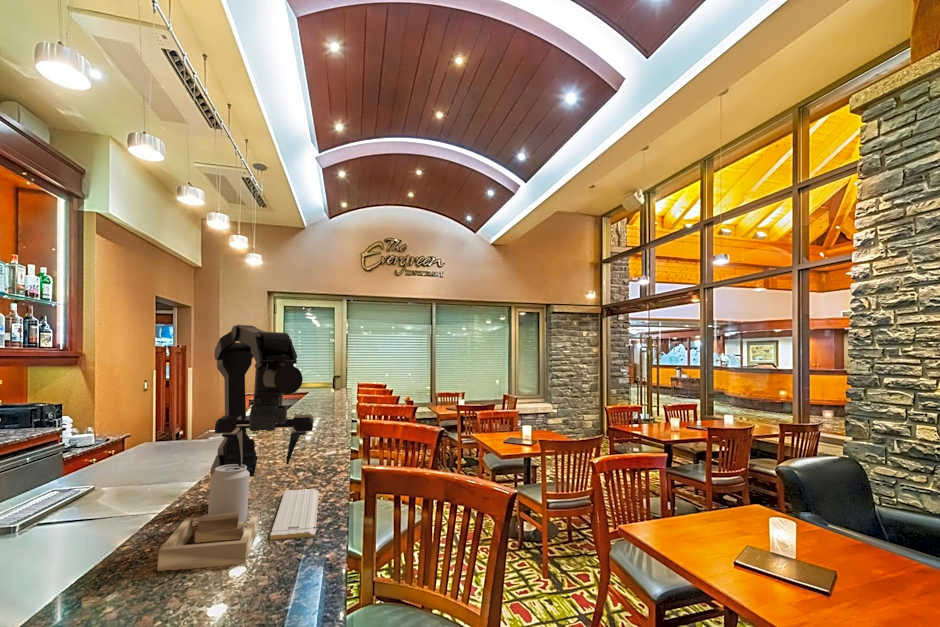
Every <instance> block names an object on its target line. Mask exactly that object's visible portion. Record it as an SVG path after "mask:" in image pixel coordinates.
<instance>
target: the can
mask: <svg viewBox="0 0 940 627" xmlns="http://www.w3.org/2000/svg"><path fill="white" fill-rule="evenodd" d="M246 468H247V466H246V465H241V466H239V465H238V464H230V465H223V466H219V467H217V468H215V472H214V473H213V474H212V475H211V474H210V483H209V493H208V494H209V497H208V506H207V508H208V509H207V510H208V511H207V512H208V513H207V515H215V514H225V513H235V512H239V522H244V523H245V521H246V520H247V519H248V508H249V507H248V506H249V491H250V490H249V489H250V477H251V476H250V473H249V472H248V471H247V470H246Z"/></svg>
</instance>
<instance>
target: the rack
mask: <svg viewBox="0 0 940 627" xmlns="http://www.w3.org/2000/svg"><path fill="white" fill-rule="evenodd" d="M193 518H194V517H185V519H184V520H183V521H182V522H181V523H180V524H179V526H177V528H176V529H175V531H174V532H173V533H172V534H171V535H170V536H169V538H168V539H167V540H166V541H165V542H164V544H163V545H162V546H161V547H160V548H159V550H158V557H157V568H156V569H157V570H156V571H162V572H167V571H166V570H172V571H179V569H182V570H190V569H201V568H211V567H212V568H213V567H220V566H221V567H222V566H230V565H231V566H232V565H243V564H246V562H247V560H248V557H249V554H250V552H251V550H252V547H253V545H254V542H255V540H256V537H257V534H258V532H259V525H260V524H259V521H260V512H257V513H256V512H254V513H252V515H251V517H250V518H249V521H248V523H247V525H246V528H244V532H243V534H242V537H241V539H239V540H232V541H231V540H228V541H216V542H209V543H208V542H204V543H196V544H195V543H194V544H187V543H188V541H189V540H190V538H191V537H192V533H193V522H194V521H193V520H194V519H193ZM186 542H187V543H186ZM164 570H165V571H164Z"/></svg>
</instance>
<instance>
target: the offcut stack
mask: <svg viewBox="0 0 940 627" xmlns="http://www.w3.org/2000/svg"><path fill="white" fill-rule="evenodd" d="M197 525H198V526H197V529H196V531H195V532H194V533H195V534H194V544H195V543H196V544H199V543H208V542H209V543H211V542H223V541H231V540H232V541H235V540H241V538H242V536H243V534H244V531H245V521H244V522H239V512H235V513H225V514H215V515H208V514H207V515H206V514H205V515H201V516H200V518H199V520H198V524H197Z"/></svg>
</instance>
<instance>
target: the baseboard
mask: <svg viewBox="0 0 940 627" xmlns="http://www.w3.org/2000/svg"><path fill="white" fill-rule="evenodd" d="M319 496H320V492H319V490H316V488H309V489H307V488H305V489H287V490H284V492H283V494H282V498H281V501H280V504H279V508H278V509H277V510H278V511H277V514H276V517H275V519H274V523H273V525H272V529H271V530H270V536H269V541H273V540H274V541H275V540H285V539H297V538H298V539H299V538H310V537H315V536H318V534H319V533H322V531H321V530H319V529H317V530H316V528H317V520H318V517H317V516H318V509H319V508H318V507H319V505H318V504H319Z"/></svg>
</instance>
